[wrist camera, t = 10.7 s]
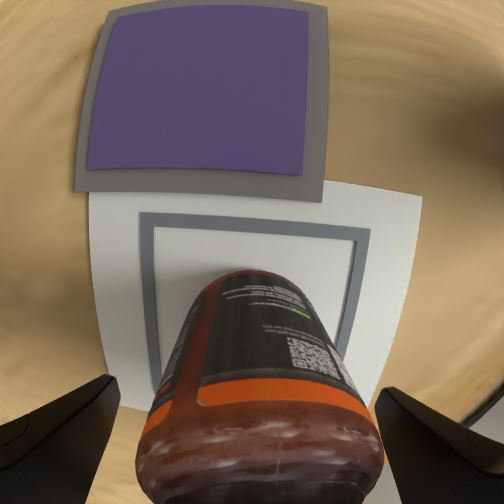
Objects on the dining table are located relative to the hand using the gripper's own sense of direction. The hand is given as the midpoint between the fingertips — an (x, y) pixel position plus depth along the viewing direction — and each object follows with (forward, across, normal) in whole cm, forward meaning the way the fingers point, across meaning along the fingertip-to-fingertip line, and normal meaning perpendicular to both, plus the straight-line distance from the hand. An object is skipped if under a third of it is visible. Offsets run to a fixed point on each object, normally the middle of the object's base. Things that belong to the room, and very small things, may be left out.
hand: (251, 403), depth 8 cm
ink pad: (+6, +3, -11) cm, 13 cm away
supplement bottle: (+5, 0, 0) cm, 5 cm away
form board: (+6, 0, 0) cm, 6 cm away
